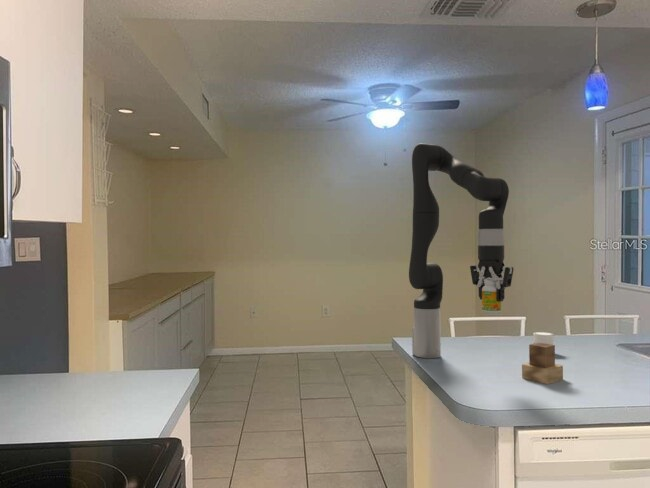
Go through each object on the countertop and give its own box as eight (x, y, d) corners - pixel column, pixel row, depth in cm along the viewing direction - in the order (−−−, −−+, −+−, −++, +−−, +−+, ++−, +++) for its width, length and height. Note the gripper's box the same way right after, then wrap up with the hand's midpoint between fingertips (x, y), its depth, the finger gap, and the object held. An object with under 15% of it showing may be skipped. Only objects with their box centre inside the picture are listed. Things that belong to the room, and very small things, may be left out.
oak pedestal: (522, 377, 140) (521, 364, 140) (537, 373, 144) (537, 360, 144) (547, 384, 133) (547, 370, 133) (562, 379, 138) (562, 365, 138)
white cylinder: (555, 351, 172) (555, 332, 172) (552, 355, 167) (552, 335, 167) (534, 349, 176) (534, 330, 176) (531, 353, 170) (531, 334, 170)
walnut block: (529, 364, 140) (529, 344, 140) (539, 362, 142) (538, 342, 142) (545, 368, 135) (545, 347, 135) (554, 365, 138) (554, 345, 138)
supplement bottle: (481, 312, 140) (481, 280, 140) (482, 310, 145) (482, 278, 145) (500, 313, 138) (500, 280, 138) (501, 311, 143) (500, 279, 143)
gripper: (519, 244, 138) (520, 301, 138) (479, 244, 149) (479, 297, 150) (504, 244, 133) (504, 304, 133) (463, 244, 145) (463, 299, 145)
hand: (491, 300), depth 142 cm, fingers closed on supplement bottle, 5 cm apart
